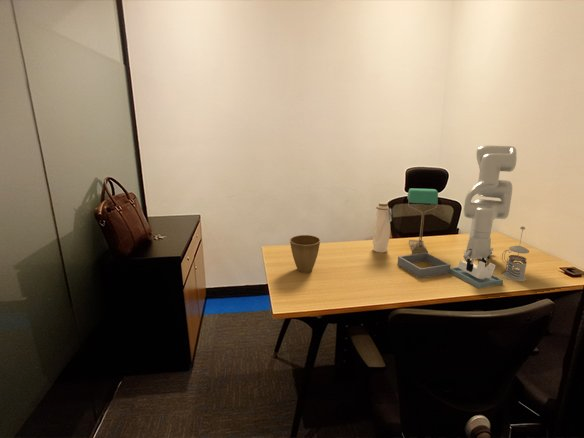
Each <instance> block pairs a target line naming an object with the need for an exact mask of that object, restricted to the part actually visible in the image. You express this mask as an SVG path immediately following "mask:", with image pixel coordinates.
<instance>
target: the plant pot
mask: <svg viewBox="0 0 584 438" xmlns="http://www.w3.org/2000/svg"><path fill="white" fill-rule="evenodd" d="M289 243H290V249H291V253H292V259H293V261H294V263H295V267H296V269H297V271H299V272H300V273H310V272H312V271H313V269H314V266H315V264H316V261H317V258H318V254H319V250H320V244H321V239H320V238H319V237H318V236H316V235H309V234H300V235H295V236H293V237H291V238H290V239H289Z"/></svg>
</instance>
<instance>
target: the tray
mask: <svg viewBox="0 0 584 438" xmlns="http://www.w3.org/2000/svg"><path fill="white" fill-rule="evenodd" d="M449 274H451V275H453V276H454V277H457V278H458V279H461V280H462V281H464V282H466V283H468V284H470V285H472V286H474V287H476V288H478V289H484V288H489V287H494V286H499V285H503V284H504V279H503V278H501V277H498V276H496V275H494V274H492V276H491V279H490V278H484V279H478V278H476V277H474V276H473V275H471V274H469V273H467V272H465V271H464V270H462V269H460V268H458V266H455V267H450V273H449Z"/></svg>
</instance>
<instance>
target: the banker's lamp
mask: <svg viewBox="0 0 584 438" xmlns="http://www.w3.org/2000/svg"><path fill="white" fill-rule="evenodd" d="M406 199H407V200H408V201H407V203H408V204H407V206H408V208H411V209H413V210H416V211H418V212H420V213H421V220H420V221H421V222H420V228H419V229H420V231H419V239H416V240H415V239H408V245H409V247H410V250H411V254H420V253H428V254H429V251H428V248H427V246H426V244H425V243H424V240H423V233H424V232H423V231H424V224H425V223H424V222H425V213H427V212H430V211H433V210H435V209H437V208H438V203H439V192H438V190H437V189H435V188H414V187H413V188H412V187H411V188H409V189H408V192H407V198H406ZM410 204H431V205H432V204H434V205H436V206H434V207H433V208H430V209H428V210H426V211H423V212H422V211H421V210H419V209H417V208H415V207H413V206H411V205H410Z"/></svg>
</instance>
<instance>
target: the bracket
mask: <svg viewBox="0 0 584 438" xmlns="http://www.w3.org/2000/svg"><path fill="white" fill-rule="evenodd" d="M457 267H458V268H460V269H462V270H464V271H465V272H467V273H469V274H471V275H473V276H474V277H476V278H478V279H484V278H490V279H491V276H492V275H494V274H493V273H494V271H495V268H496V264H494V263H492V262H489V264H487V265H486V267H485V263H484V262H482V261H480V260H479V261H478V264H475V263H473V270H472V272H469V271H467V270H466V267H467V262H466V260H459V263H458V266H457Z"/></svg>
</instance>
